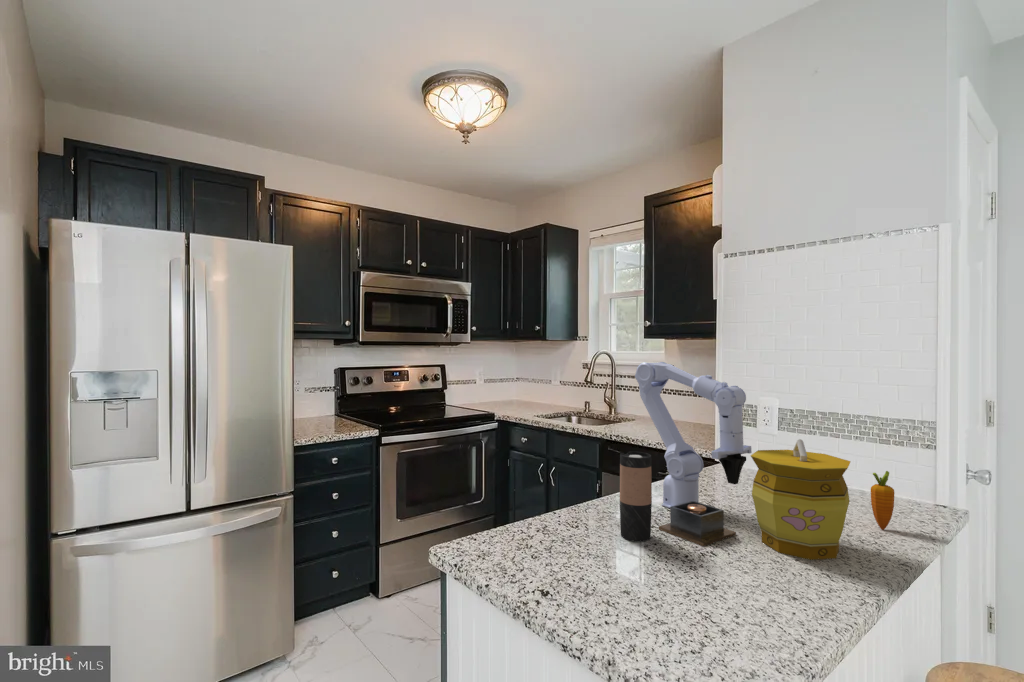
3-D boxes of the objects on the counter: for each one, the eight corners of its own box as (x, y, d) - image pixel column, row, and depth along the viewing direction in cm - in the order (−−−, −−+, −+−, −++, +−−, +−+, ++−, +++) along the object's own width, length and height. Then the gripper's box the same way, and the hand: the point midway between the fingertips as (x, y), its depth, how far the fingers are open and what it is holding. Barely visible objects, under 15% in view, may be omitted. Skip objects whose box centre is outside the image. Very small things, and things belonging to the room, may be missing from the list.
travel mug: (652, 543, 118) (652, 458, 118) (619, 540, 120) (619, 457, 120) (650, 531, 125) (650, 452, 126) (619, 529, 127) (619, 450, 127)
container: (834, 534, 124) (834, 434, 125) (870, 571, 104) (870, 450, 104) (742, 526, 130) (742, 430, 130) (759, 559, 110) (759, 445, 110)
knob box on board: (658, 529, 127) (658, 505, 127) (691, 519, 134) (691, 497, 134) (703, 546, 116) (703, 520, 116) (736, 535, 123) (736, 510, 124)
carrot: (872, 531, 127) (872, 471, 127) (869, 525, 131) (868, 467, 131) (896, 534, 124) (896, 474, 125) (892, 528, 129) (892, 470, 129)
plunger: (677, 525, 126) (677, 505, 126) (693, 520, 130) (694, 501, 130) (699, 533, 121) (699, 512, 121) (716, 528, 124) (716, 508, 124)
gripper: (727, 436, 126) (729, 490, 125) (761, 431, 133) (763, 482, 133) (703, 432, 132) (705, 484, 131) (737, 428, 139) (738, 477, 139)
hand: (732, 483), depth 132 cm, fingers closed
